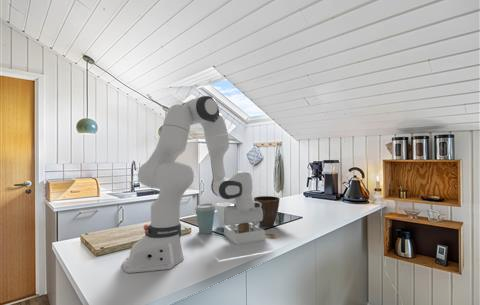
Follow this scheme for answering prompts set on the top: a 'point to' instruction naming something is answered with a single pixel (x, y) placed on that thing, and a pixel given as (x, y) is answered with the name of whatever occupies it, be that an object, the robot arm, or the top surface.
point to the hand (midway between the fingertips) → (243, 231)
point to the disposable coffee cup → (205, 217)
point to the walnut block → (243, 227)
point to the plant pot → (268, 209)
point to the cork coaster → (271, 236)
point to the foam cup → (221, 213)
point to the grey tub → (244, 234)
